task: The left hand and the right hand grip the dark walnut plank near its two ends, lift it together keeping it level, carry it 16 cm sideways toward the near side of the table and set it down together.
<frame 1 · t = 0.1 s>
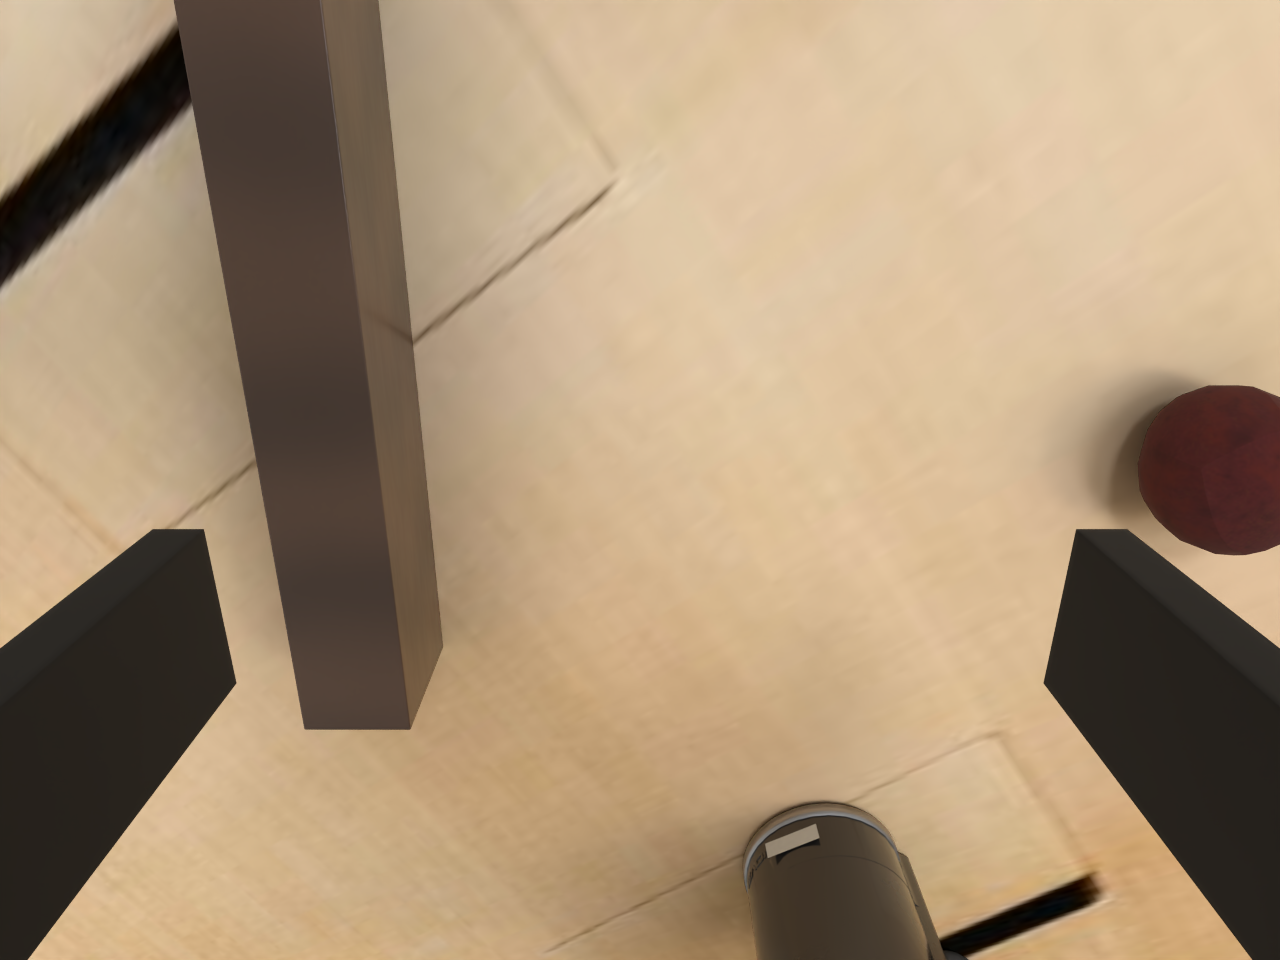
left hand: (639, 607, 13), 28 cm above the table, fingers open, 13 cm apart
plank: (362, 360, 40), on the table
potato: (1180, 440, 41), on the table
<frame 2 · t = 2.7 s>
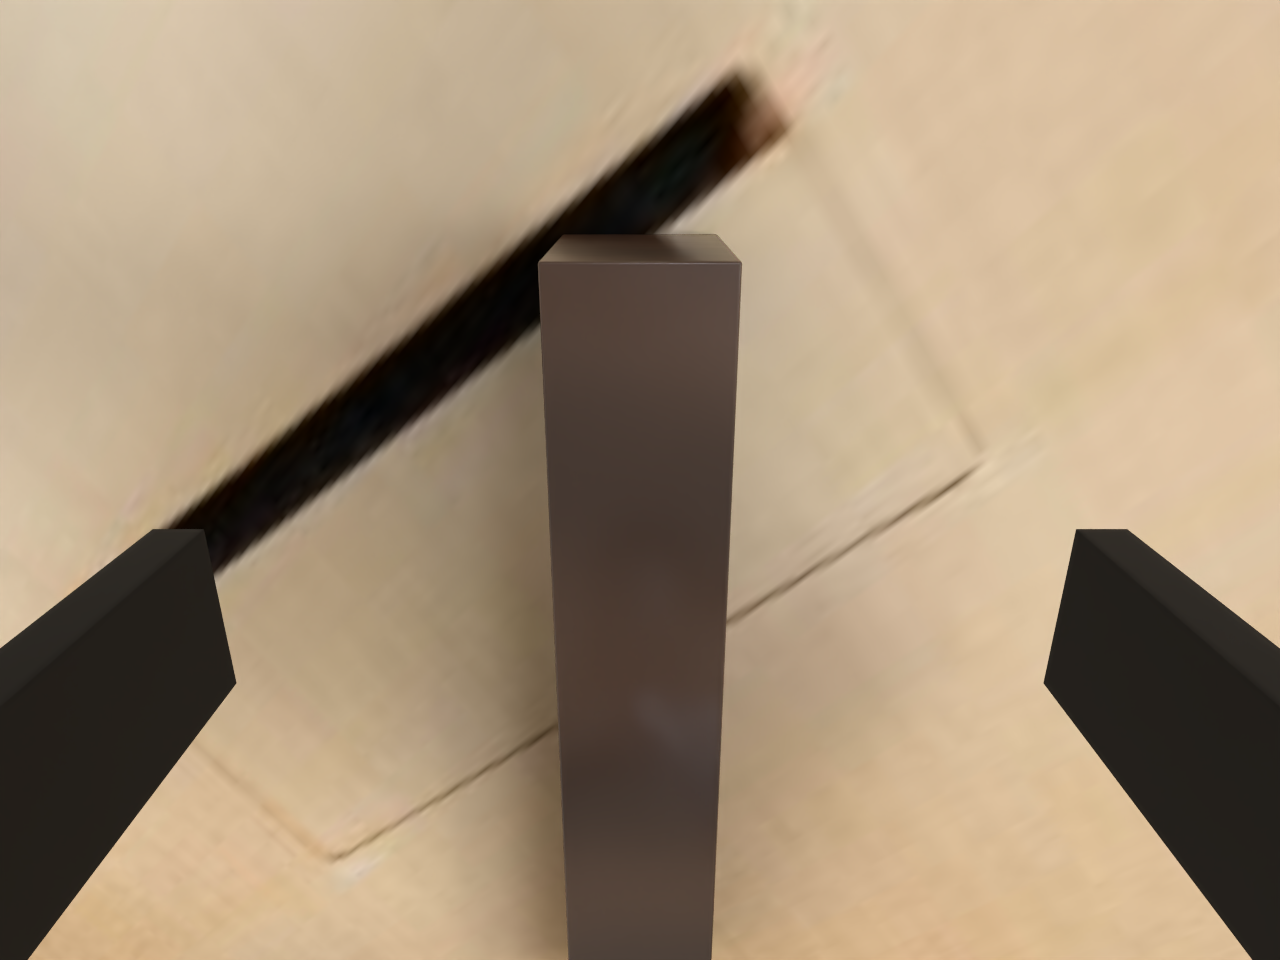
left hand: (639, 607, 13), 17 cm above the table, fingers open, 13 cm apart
plank: (639, 657, 33), on the table
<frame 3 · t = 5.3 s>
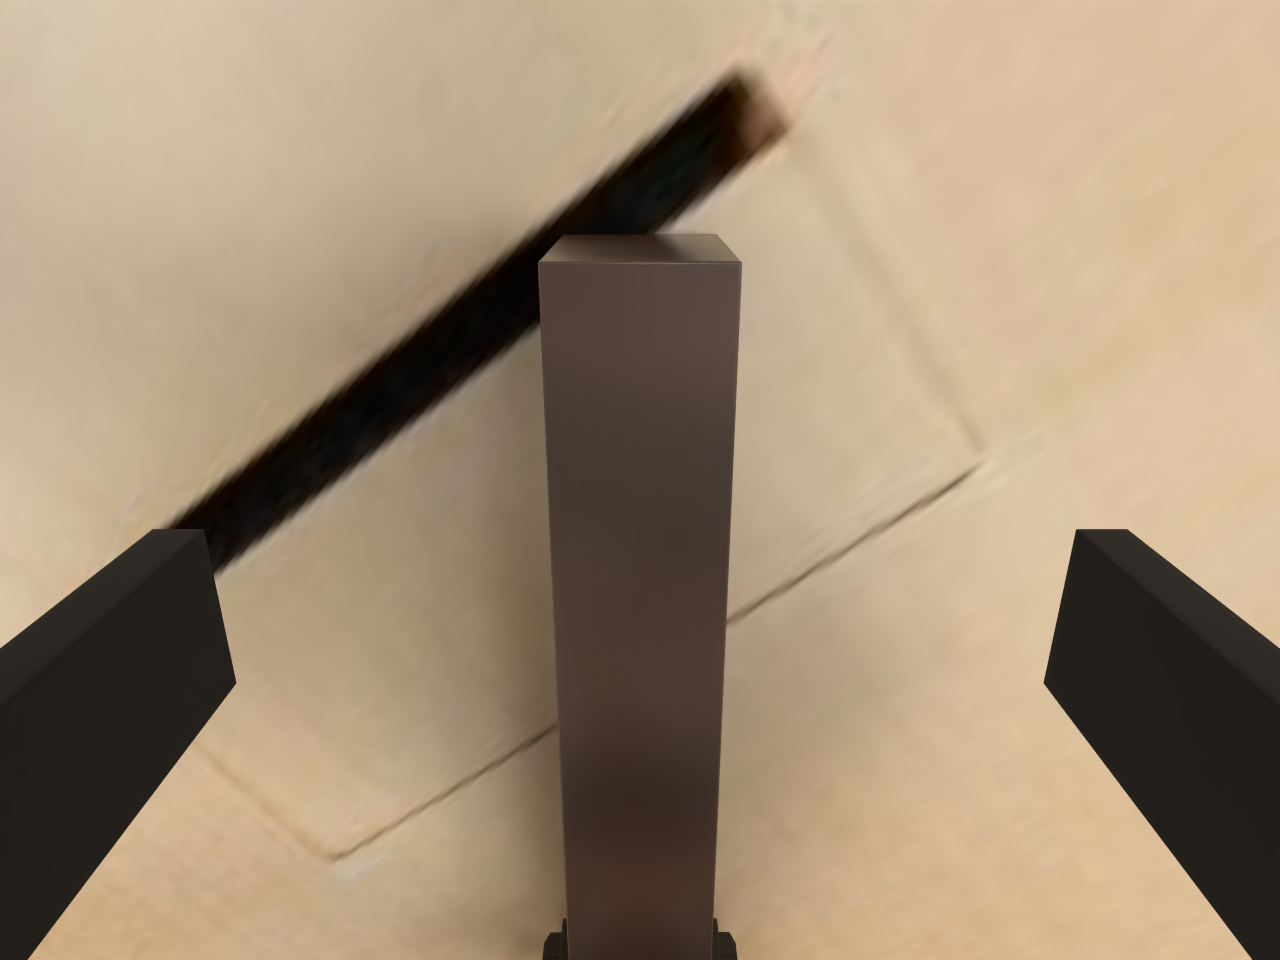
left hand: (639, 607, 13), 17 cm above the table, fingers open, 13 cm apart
plank: (639, 657, 33), on the table, touching right hand
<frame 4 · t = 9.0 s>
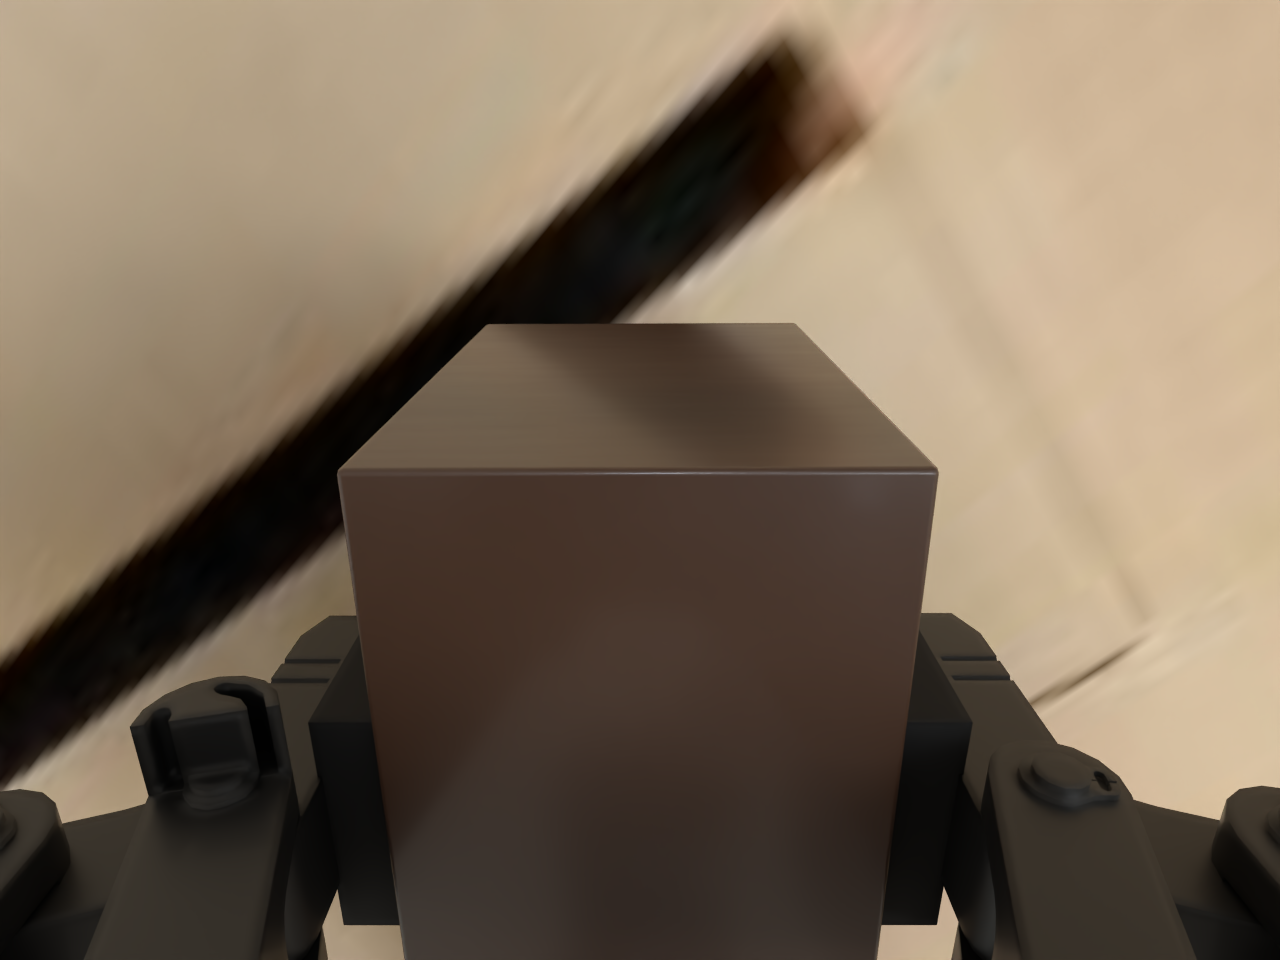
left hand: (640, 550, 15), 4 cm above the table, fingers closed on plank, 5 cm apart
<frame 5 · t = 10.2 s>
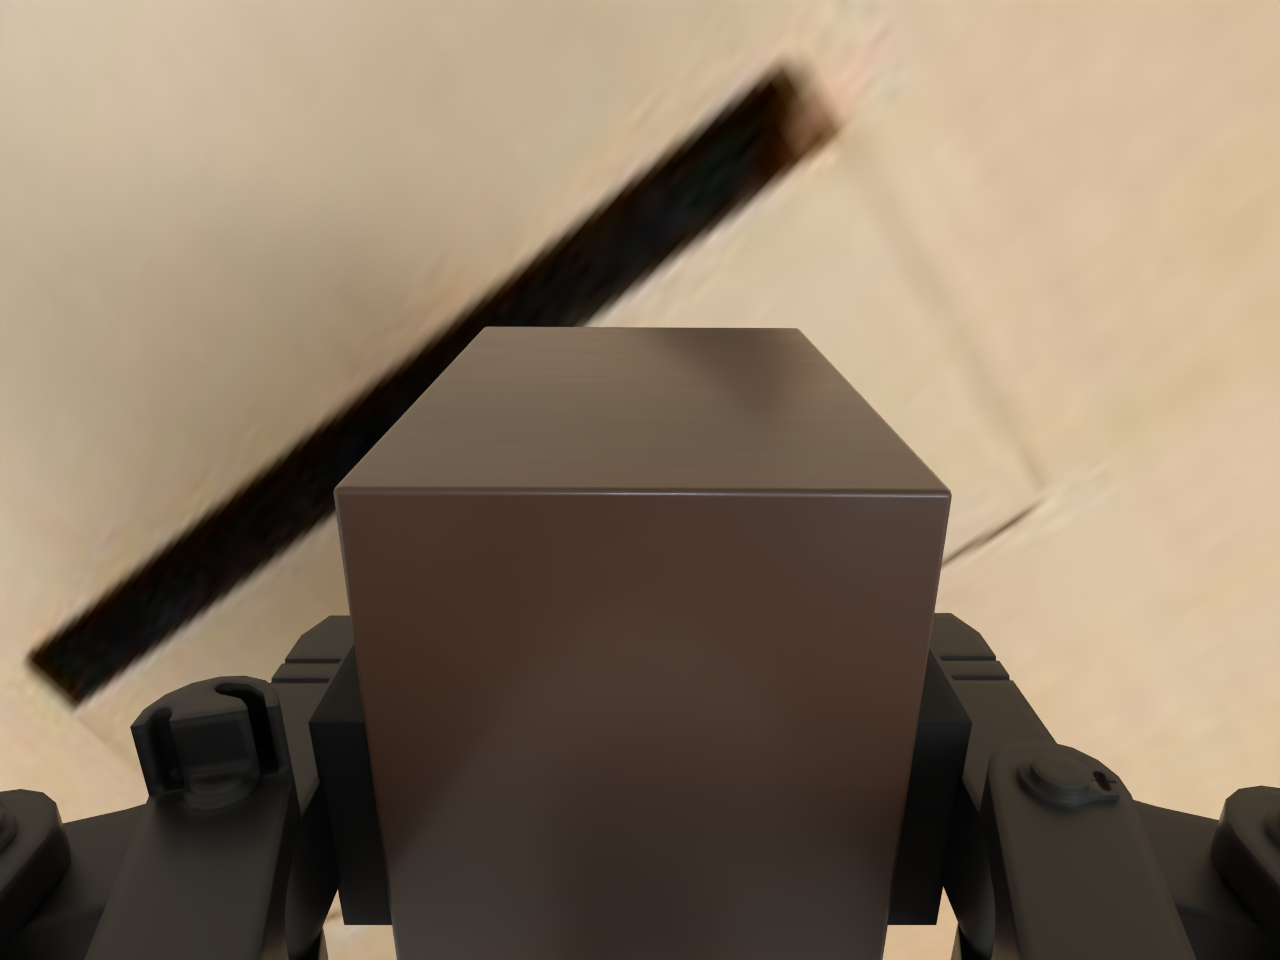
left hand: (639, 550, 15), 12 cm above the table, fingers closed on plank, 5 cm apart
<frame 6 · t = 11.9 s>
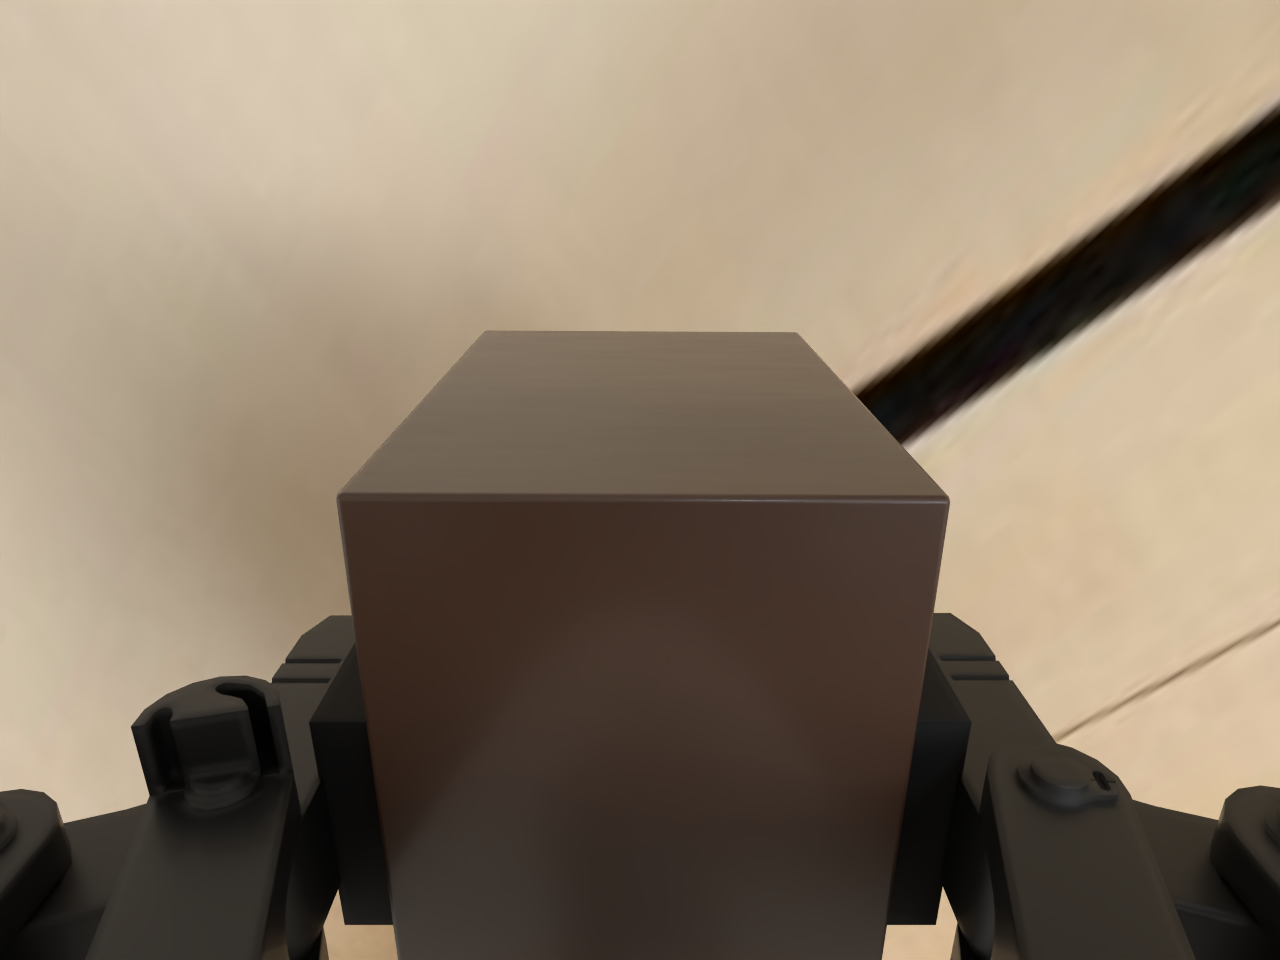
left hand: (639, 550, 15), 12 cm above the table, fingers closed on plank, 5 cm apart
when the left hand's fingers open (0 cm above the table, at t = 14.9 s): plank stays where it is, on the table.
when the right hand's fingers open (3 cm above the table, at t = 15.1 s): plank stays where it is, on the table.
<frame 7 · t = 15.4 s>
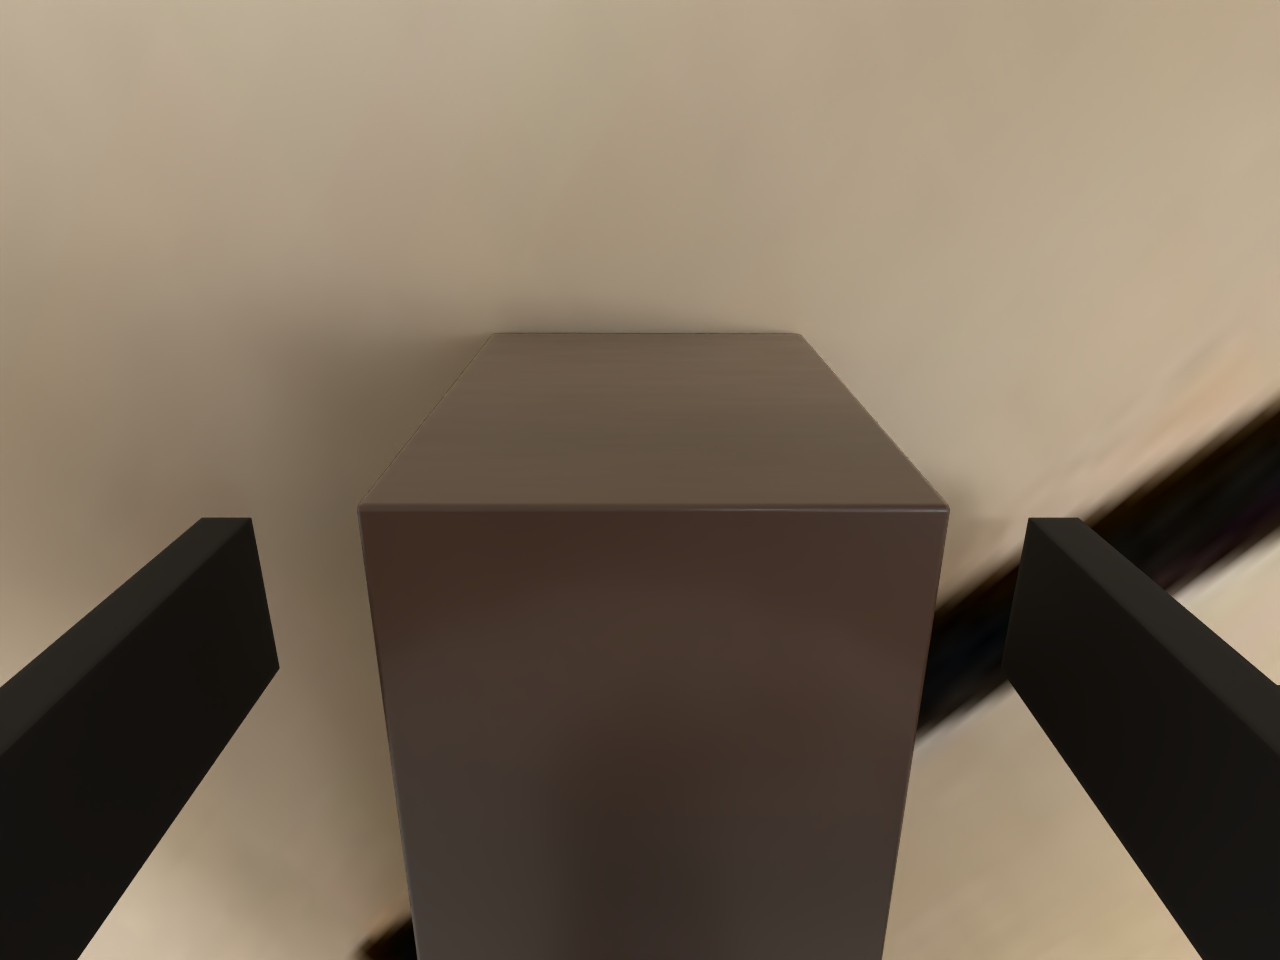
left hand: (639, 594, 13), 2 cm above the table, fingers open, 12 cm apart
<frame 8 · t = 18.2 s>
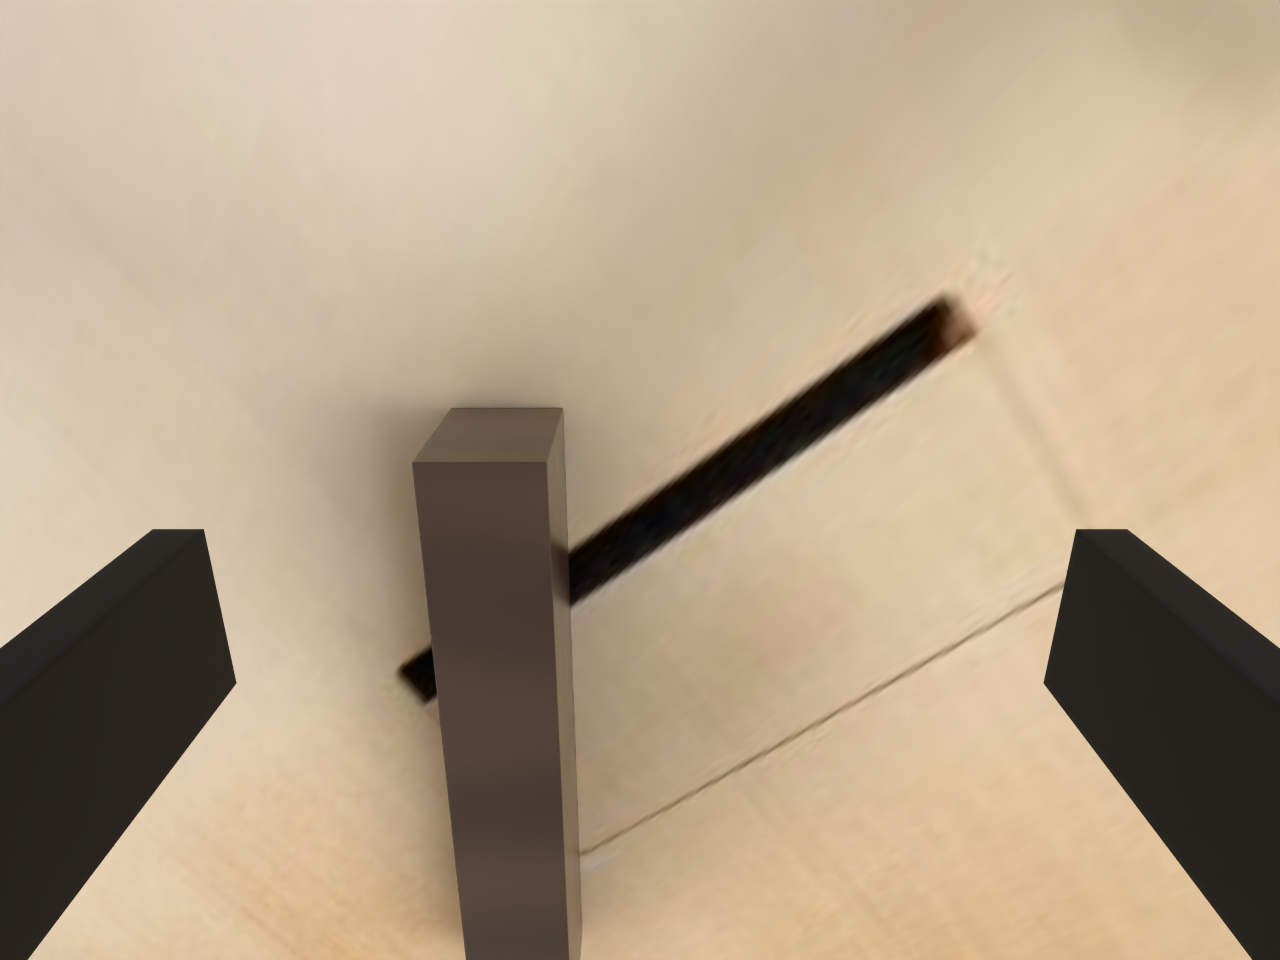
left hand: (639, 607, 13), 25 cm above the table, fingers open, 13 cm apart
plank: (525, 704, 43), on the table
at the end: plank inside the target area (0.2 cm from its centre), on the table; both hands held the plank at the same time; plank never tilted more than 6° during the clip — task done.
